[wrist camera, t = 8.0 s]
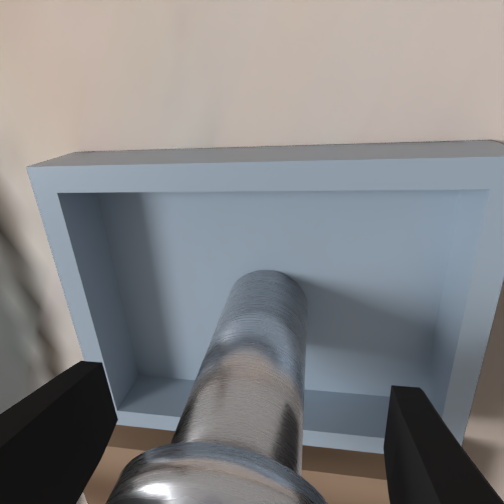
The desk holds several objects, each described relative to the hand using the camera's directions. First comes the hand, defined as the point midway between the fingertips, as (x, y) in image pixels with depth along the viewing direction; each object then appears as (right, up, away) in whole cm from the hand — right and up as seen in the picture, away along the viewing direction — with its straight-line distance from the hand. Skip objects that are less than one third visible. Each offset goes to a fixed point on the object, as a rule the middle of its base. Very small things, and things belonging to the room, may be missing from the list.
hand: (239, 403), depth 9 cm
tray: (+1, +2, +5) cm, 6 cm away
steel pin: (+1, +2, +5) cm, 5 cm away
